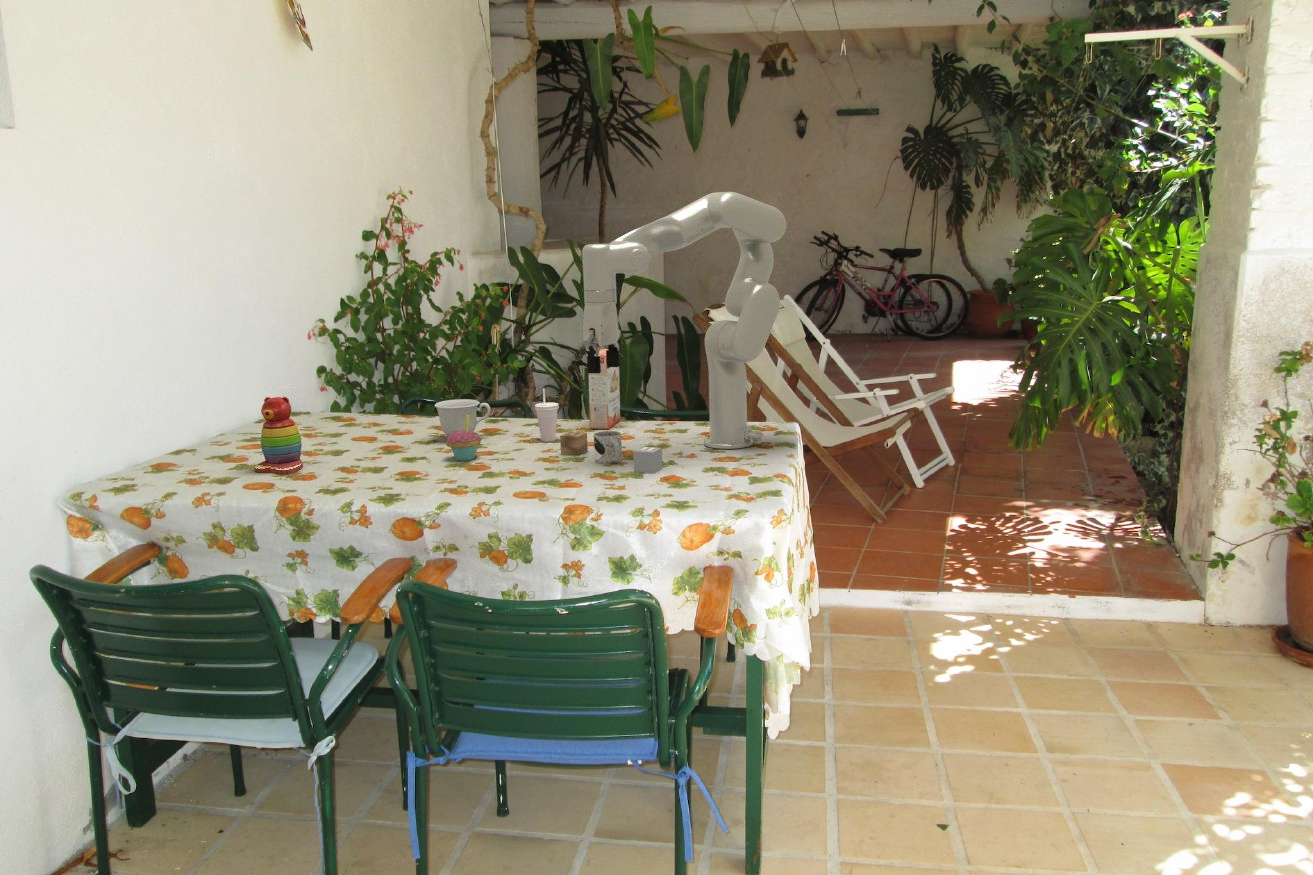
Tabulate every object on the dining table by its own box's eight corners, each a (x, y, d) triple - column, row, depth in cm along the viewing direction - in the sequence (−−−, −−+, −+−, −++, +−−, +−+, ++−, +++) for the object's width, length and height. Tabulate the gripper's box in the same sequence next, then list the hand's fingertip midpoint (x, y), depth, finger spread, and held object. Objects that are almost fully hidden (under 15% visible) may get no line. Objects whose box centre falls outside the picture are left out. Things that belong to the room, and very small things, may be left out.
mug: (590, 459, 257) (589, 432, 256) (616, 456, 260) (615, 430, 258) (605, 468, 248) (604, 440, 247) (631, 464, 251) (630, 437, 249)
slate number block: (662, 468, 246) (661, 447, 245) (653, 473, 242) (653, 451, 241) (642, 467, 248) (642, 445, 247) (634, 472, 244) (633, 450, 243)
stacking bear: (250, 472, 254) (242, 400, 250) (278, 462, 264) (271, 392, 260) (287, 475, 251) (279, 401, 247) (314, 465, 260) (307, 394, 256)
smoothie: (536, 438, 283) (533, 387, 281) (560, 437, 284) (558, 386, 281) (536, 443, 277) (533, 390, 274) (560, 442, 278) (557, 389, 275)
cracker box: (610, 430, 292) (607, 355, 287) (589, 429, 293) (586, 355, 288) (622, 420, 305) (619, 348, 301) (601, 419, 306) (599, 348, 302)
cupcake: (488, 456, 264) (485, 409, 262) (469, 463, 256) (465, 415, 254) (460, 453, 268) (457, 407, 265) (440, 461, 260) (436, 413, 258)
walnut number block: (587, 452, 266) (587, 432, 265) (578, 456, 261) (577, 436, 260) (570, 450, 268) (569, 431, 267) (561, 455, 263) (560, 435, 262)
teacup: (488, 443, 279) (485, 406, 277) (432, 444, 279) (429, 407, 277) (496, 433, 291) (493, 398, 289) (442, 435, 291) (439, 399, 289)
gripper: (603, 294, 255) (606, 364, 259) (568, 300, 240) (572, 375, 243) (630, 294, 252) (633, 365, 256) (597, 301, 237) (601, 376, 240)
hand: (603, 369), depth 249 cm, fingers open, 9 cm apart
